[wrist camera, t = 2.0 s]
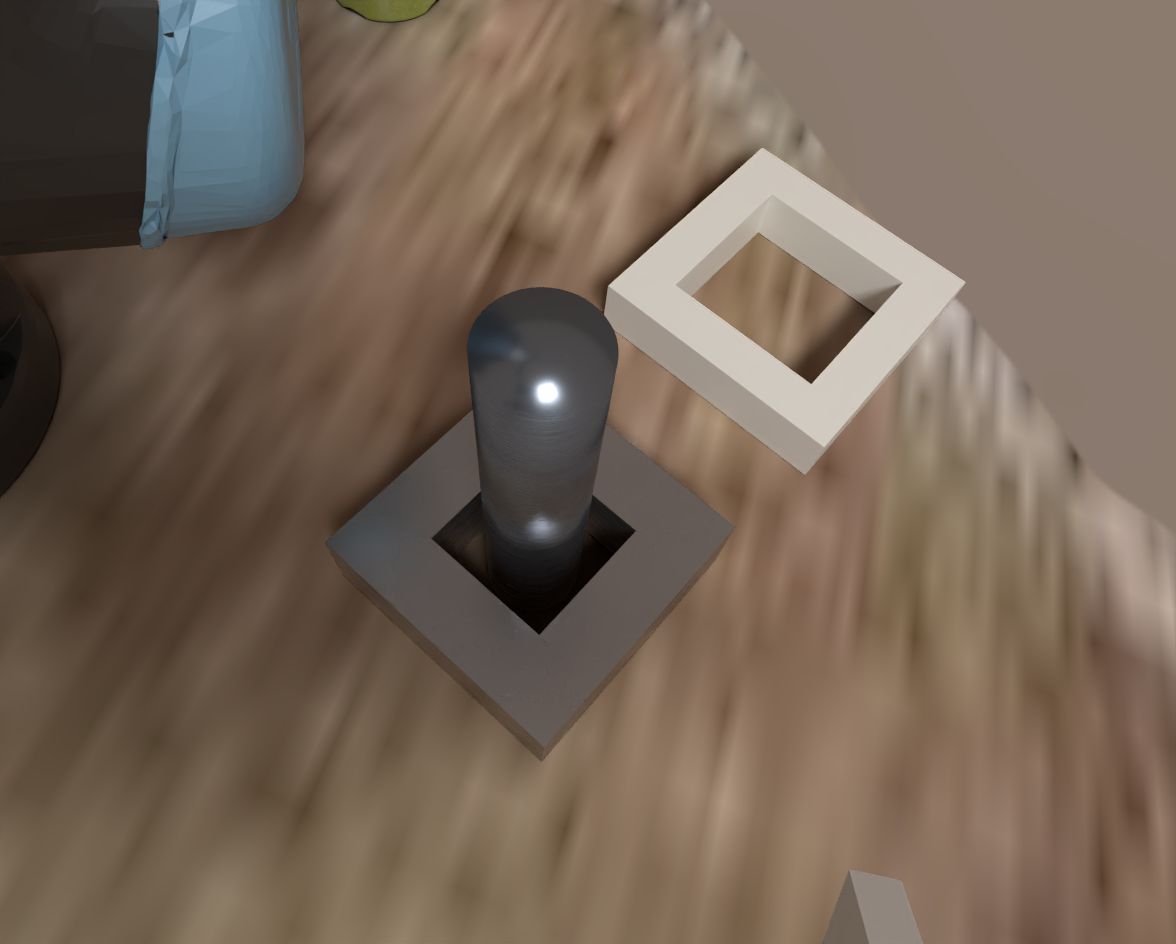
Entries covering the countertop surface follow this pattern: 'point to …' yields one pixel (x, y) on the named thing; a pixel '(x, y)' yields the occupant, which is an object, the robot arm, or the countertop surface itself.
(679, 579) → the socket block
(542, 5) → the countertop surface
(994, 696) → the countertop surface
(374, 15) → the plant pot
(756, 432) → the block
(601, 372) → the rod
